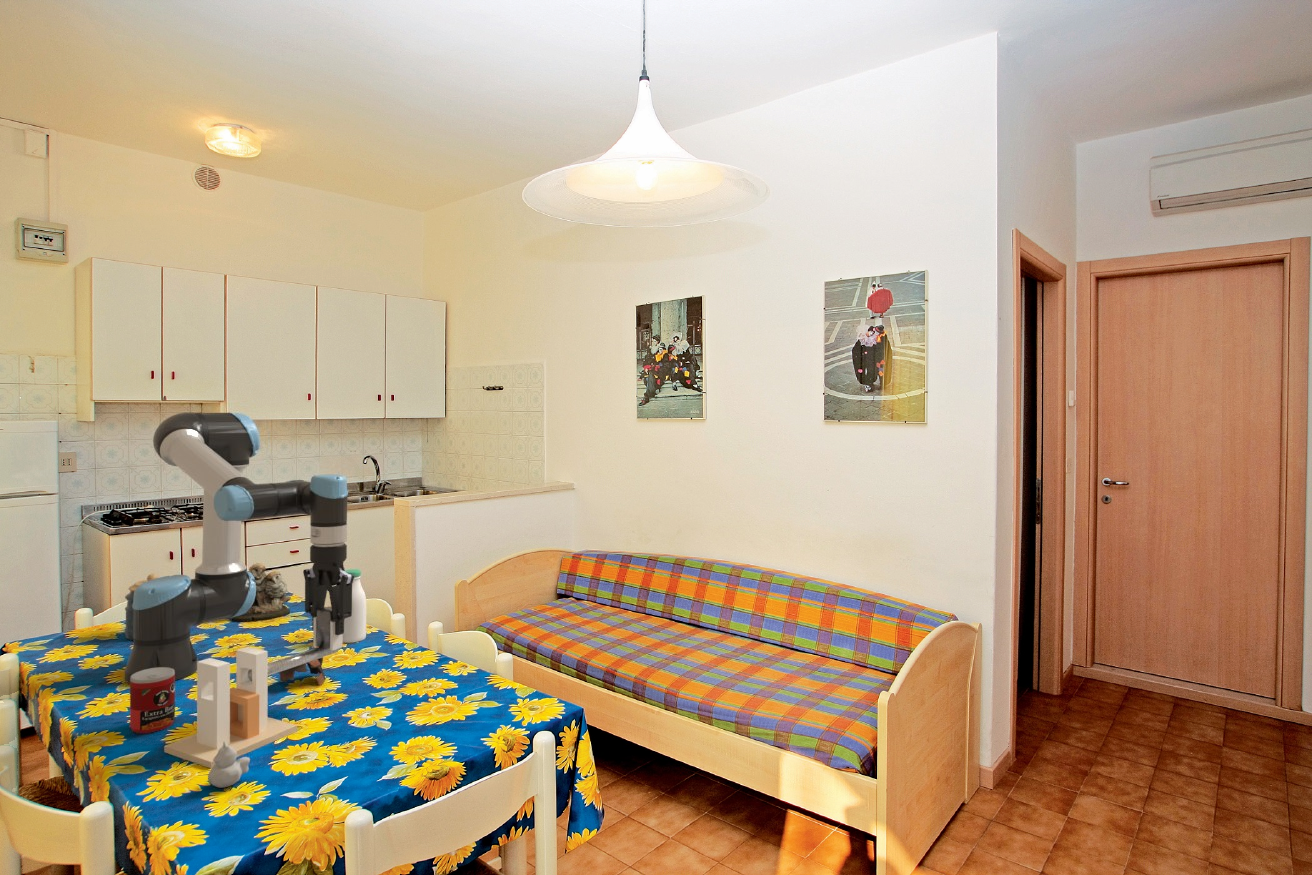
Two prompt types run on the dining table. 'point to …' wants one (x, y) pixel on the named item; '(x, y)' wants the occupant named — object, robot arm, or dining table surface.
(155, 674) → the canned food
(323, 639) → the shaft
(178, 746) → the wooden twin post stand
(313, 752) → the dining table surface
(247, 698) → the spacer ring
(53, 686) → the dining table surface
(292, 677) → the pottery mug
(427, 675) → the dining table surface
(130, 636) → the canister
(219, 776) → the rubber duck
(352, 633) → the milk bottle
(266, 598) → the owl figurine
